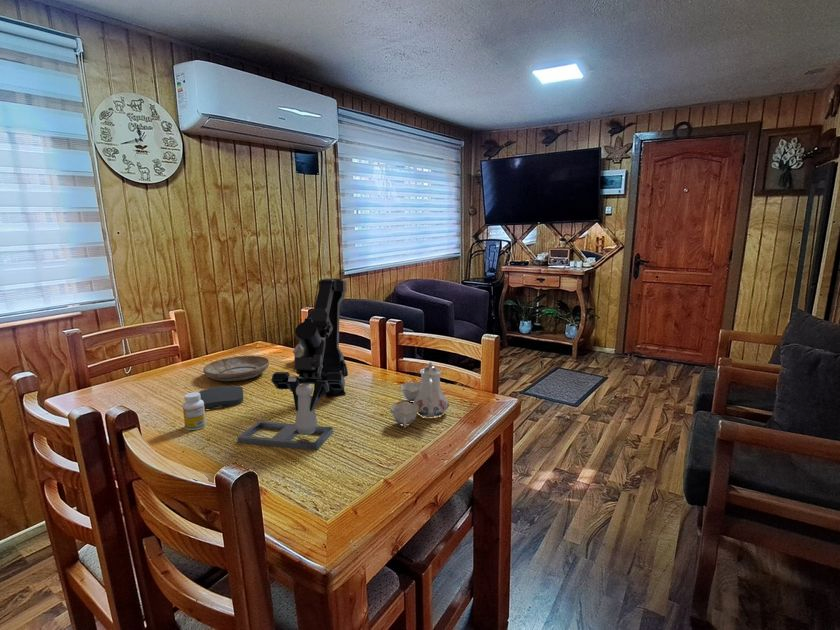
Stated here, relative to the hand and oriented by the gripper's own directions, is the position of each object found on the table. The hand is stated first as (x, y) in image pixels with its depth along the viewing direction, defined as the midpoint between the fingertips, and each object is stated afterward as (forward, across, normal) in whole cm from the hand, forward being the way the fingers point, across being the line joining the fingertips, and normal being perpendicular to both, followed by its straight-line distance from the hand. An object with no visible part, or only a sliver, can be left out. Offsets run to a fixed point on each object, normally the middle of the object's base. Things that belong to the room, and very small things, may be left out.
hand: (303, 410), depth 117 cm
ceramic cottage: (-43, -16, +57) cm, 73 cm away
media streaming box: (-13, -37, +27) cm, 47 cm away
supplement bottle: (0, -34, +12) cm, 36 cm away
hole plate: (+5, -6, +8) cm, 11 cm away
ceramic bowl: (-30, -41, +44) cm, 68 cm away
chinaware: (-7, +30, +20) cm, 37 cm away
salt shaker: (+4, 0, +6) cm, 7 cm away
